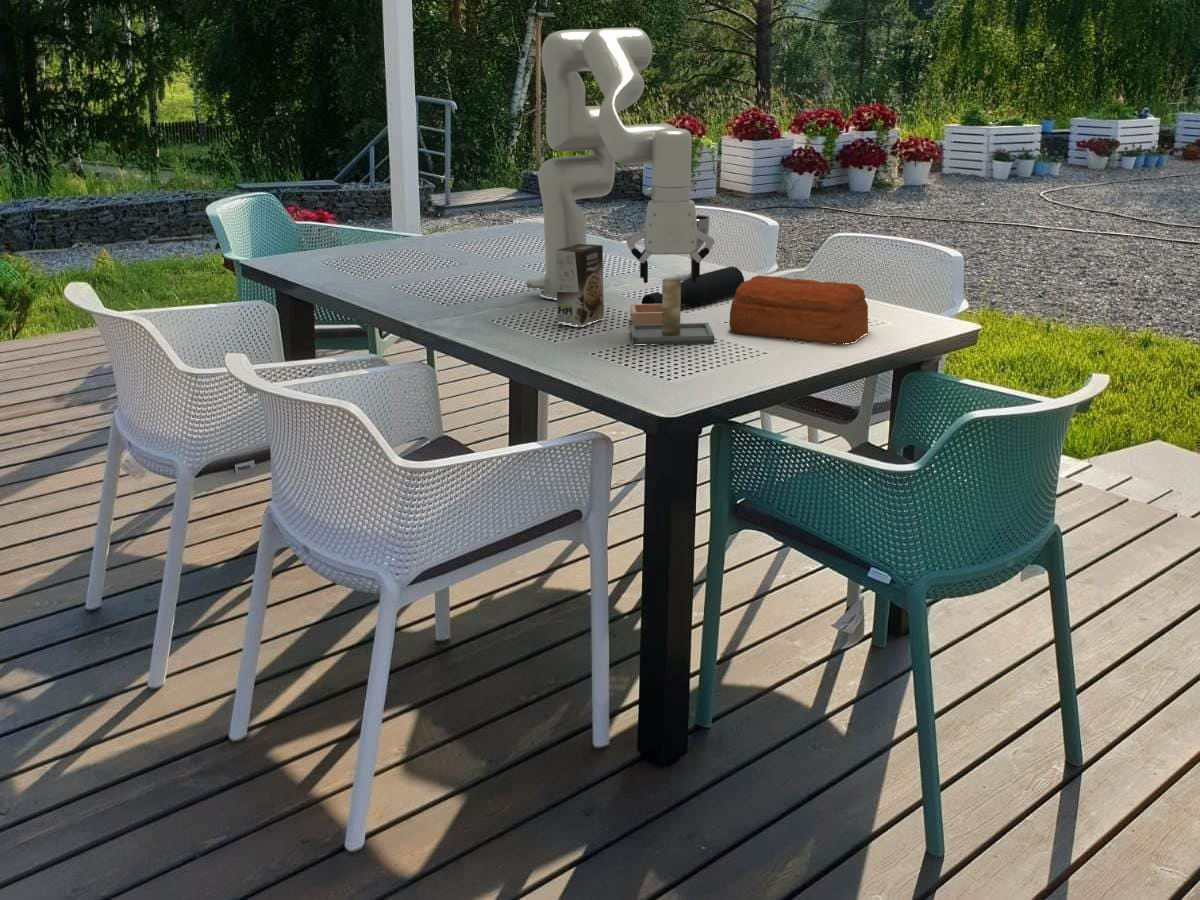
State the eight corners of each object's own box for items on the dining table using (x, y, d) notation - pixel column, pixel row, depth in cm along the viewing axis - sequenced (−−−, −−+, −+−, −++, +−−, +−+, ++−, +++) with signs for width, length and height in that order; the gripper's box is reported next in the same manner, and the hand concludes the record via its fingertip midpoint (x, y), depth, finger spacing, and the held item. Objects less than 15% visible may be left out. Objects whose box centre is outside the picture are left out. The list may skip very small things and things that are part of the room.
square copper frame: (633, 328, 256) (632, 313, 255) (630, 318, 265) (630, 304, 264) (674, 327, 257) (674, 312, 256) (670, 318, 265) (671, 303, 264)
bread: (848, 348, 239) (850, 295, 235) (722, 334, 252) (723, 282, 248) (874, 331, 251) (877, 280, 248) (752, 318, 264) (754, 269, 261)
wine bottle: (749, 285, 283) (664, 309, 262) (731, 299, 287) (646, 323, 267) (735, 261, 283) (649, 283, 263) (718, 275, 288) (632, 298, 268)
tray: (633, 345, 243) (633, 337, 243) (630, 332, 253) (630, 324, 253) (714, 343, 243) (714, 335, 243) (708, 330, 254) (708, 322, 253)
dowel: (663, 336, 246) (663, 281, 243) (661, 331, 250) (661, 278, 246) (680, 335, 247) (681, 281, 243) (679, 331, 250) (679, 277, 246)
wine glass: (672, 280, 302) (672, 219, 297) (682, 274, 309) (682, 214, 304) (703, 282, 299) (703, 220, 294) (712, 276, 306) (713, 215, 301)
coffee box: (582, 329, 257) (580, 251, 252) (556, 325, 260) (554, 249, 255) (605, 320, 264) (604, 244, 259) (580, 316, 268) (578, 242, 262)
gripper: (627, 198, 235) (627, 286, 242) (717, 197, 236) (715, 285, 242) (625, 191, 242) (625, 277, 249) (713, 191, 243) (711, 276, 249)
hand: (669, 281), depth 245 cm, fingers open, 9 cm apart
